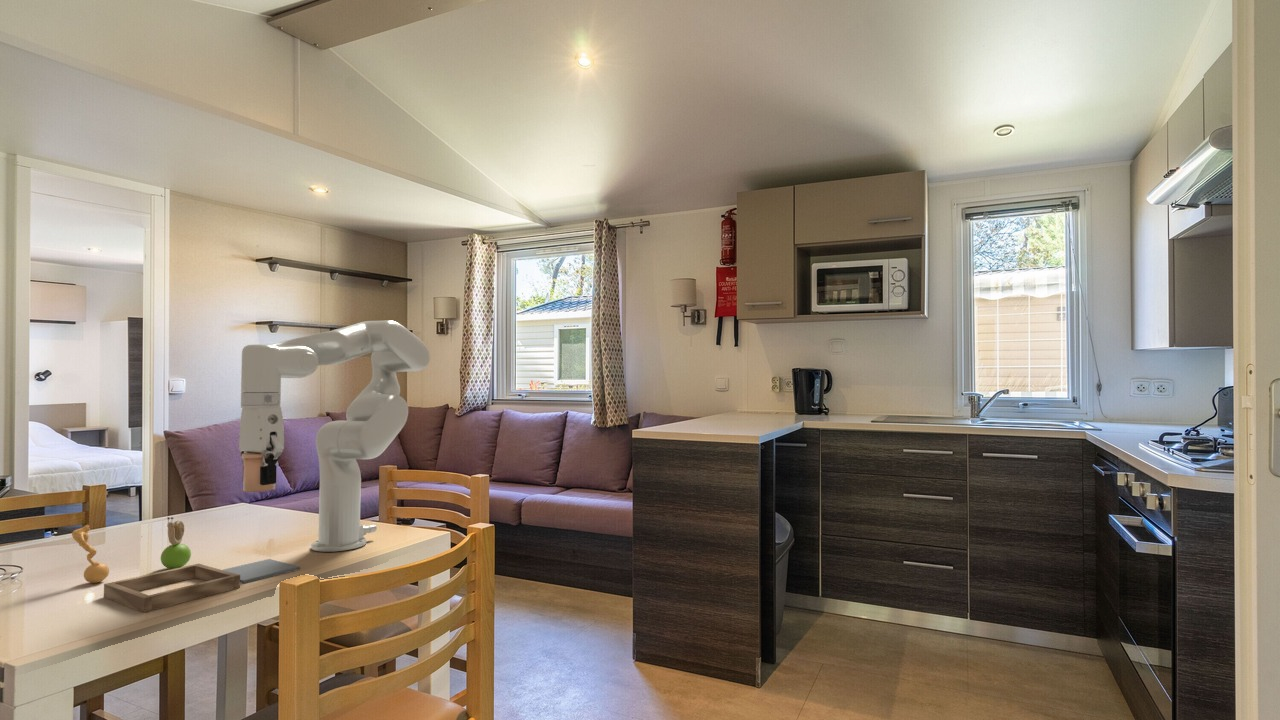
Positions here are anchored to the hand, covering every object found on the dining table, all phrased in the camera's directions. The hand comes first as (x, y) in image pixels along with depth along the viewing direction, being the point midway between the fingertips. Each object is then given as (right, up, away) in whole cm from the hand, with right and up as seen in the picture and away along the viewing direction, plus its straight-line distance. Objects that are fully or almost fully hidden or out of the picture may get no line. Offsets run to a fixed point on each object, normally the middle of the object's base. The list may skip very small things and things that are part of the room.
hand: (259, 482), depth 139 cm
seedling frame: (-8, -19, -15) cm, 25 cm away
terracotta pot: (0, -2, 0) cm, 2 cm away
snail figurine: (-20, -20, +1) cm, 28 cm away
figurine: (-29, -19, -9) cm, 36 cm away
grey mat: (0, -19, -1) cm, 19 cm away
